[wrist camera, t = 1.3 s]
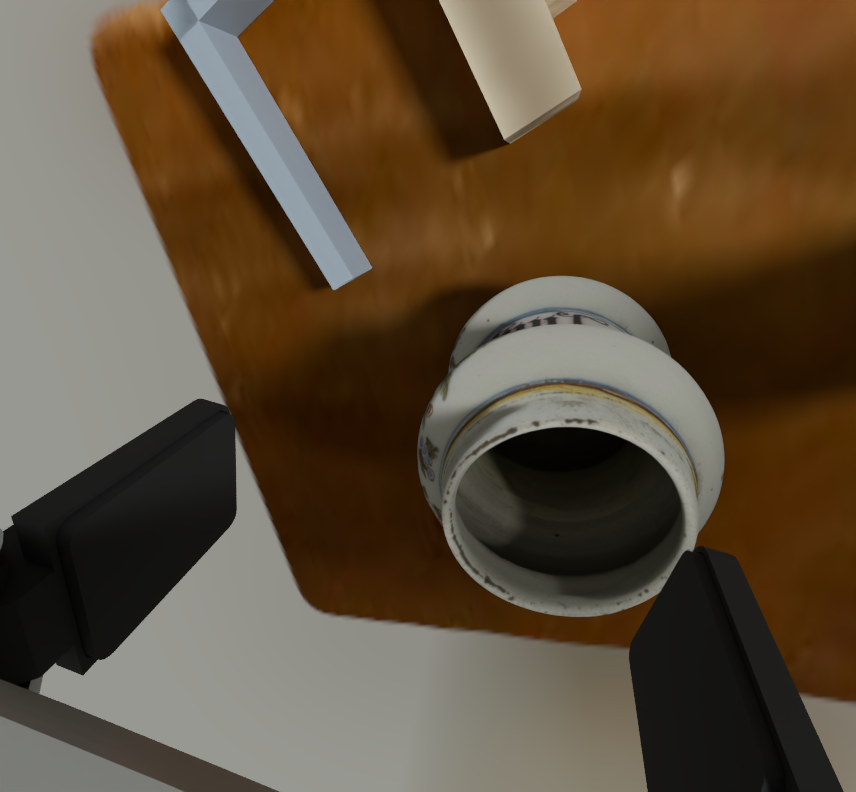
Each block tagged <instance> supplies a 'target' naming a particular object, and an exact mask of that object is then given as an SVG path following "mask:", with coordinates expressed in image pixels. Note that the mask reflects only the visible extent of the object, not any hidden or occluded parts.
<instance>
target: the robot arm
mask: <svg viewBox="0 0 856 792" xmlns="http://www.w3.org/2000/svg"><path fill="white" fill-rule="evenodd" d="M235 451H236V449H235V418H234V416H233V415H231V414H230V413H229V409H228V407H226V406H225V405H221V404H218V403H215V402H211V401H208V400H204V399H197V400H195V401H193V402H192V403H190V404H189V405H187V406H185V407H184V408H182V409H181V410H179V411H177V412H176V413H174V414H173V415H171V416H169V417H168V418H166V419H165V420H163V421H162V422H160V423H158V424H157V425H155V426H154V427H152V428H150V429H149V430H147V431H146V432H144V433H143V434H141V435H139V436H138V437H136V438H135V439H133V440H131V441H130V442H128V443H127V444H125V445H123V446H122V447H120V448H119V449H117V450H116V451H114V452H112V453H111V454H109V455H108V456H106V457H104V458H103V459H101V460H100V461H98V462H96V463H95V464H93V465H92V466H90V467H89V468H87V469H85V470H84V471H82V472H81V473H79V474H77V475H76V476H74V477H73V478H71V479H70V480H68V481H66V482H65V483H63V484H62V485H60V486H59V487H57V488H55V489H54V490H52V491H51V492H49V493H47V494H46V495H44V496H43V497H41V498H39V499H38V500H36V501H35V502H33V503H31V504H30V505H28V506H27V507H25V508H24V509H22V510H20V511H19V512H17V513H16V514H14V515H13V516H12V520H13V523H14V525H12V526H11V527H9V528H8V529H6V530H5V531H2V530H1V529H0V792H279V791H276V790H274V789H271V788H269V787H267V786H264V785H262V784H259V783H257V782H255V781H252V780H250V779H247V778H245V777H243V776H240V775H238V774H235V773H233V772H230V771H228V770H226V769H223V768H221V767H218V766H216V765H213V764H211V763H209V762H206V761H204V760H201V759H199V758H196V757H194V756H191V755H189V754H186V753H184V752H182V751H179V750H177V749H174V748H172V747H169V746H167V745H164V744H162V743H160V742H157V741H155V740H152V739H150V738H147V737H145V736H142V735H140V734H137V733H135V732H132V731H130V730H128V729H125V728H123V727H120V726H118V725H115V724H113V723H111V722H108V721H106V720H103V719H101V718H98V717H96V716H93V715H91V714H88V713H86V712H84V711H81V710H78V709H76V708H74V707H71V706H69V705H66V704H64V703H61V702H59V701H56V700H53V699H51V698H48V697H46V696H43V695H40V694H39V693H40V688H41V683H42V678H43V674H44V673H45V672H46V671H47V670H48V669H49V668H50V667H52V666H53V665H54V664H55V663H56V664H57V665H58V666H61V667H63V668H66V669H68V670H71V671H73V672H76V673H78V674H81V675H84V674H85V673H86V672H87V671H88V670H89V668H90V667H91V666H92V665H93V664H94V663H95V662H96V661H97V660H98V659H99V660H102V659H105V658H107V657H108V656H110V655H111V654H112V653H113V652H114V651H115V650H116V649H117V648H118V647H119V646H120V644H122V642H123V641H124V640H125V639H126V638H127V637H128V636H129V635H130V634H131V633H132V632H133V631H134V630H135V628H136V627H137V626H138V625H139V624H140V623H141V622H142V621H143V620H144V618H145V617H147V615H148V614H149V613H150V612H151V611H152V610H153V609H154V608H155V607H156V606H157V605H158V604H159V603H160V601H161V600H162V599H163V598H164V597H165V596H166V595H167V594H168V593H169V592H170V591H171V590H172V588H173V587H174V586H175V585H176V584H177V583H178V582H179V581H180V580H181V579H182V578H183V576H185V574H186V573H187V572H188V571H189V570H190V569H191V568H192V567H193V566H194V565H195V564H196V563H197V562H198V560H199V559H200V558H201V557H202V556H203V555H204V554H205V553H206V552H207V551H208V549H210V547H211V546H212V545H213V544H214V543H215V542H216V541H217V540H218V539H219V538H220V537H221V535H223V533H224V532H225V531H226V530H227V529H228V528H229V527H230V525H231V524H232V522H233V520H234V518H235V516H236V510H237V508H236V507H237V506H236V453H235ZM629 662H630V669H631V676H632V683H633V690H634V697H635V704H636V711H637V718H638V725H639V732H640V739H641V747H642V753H643V761H644V768H645V774H646V782H647V789H648V792H843V790H842V787H841V785H840V783H839V781H838V779H837V776H836V774H835V772H834V770H833V768H832V765H831V763H830V761H829V759H828V757H827V755H826V752H825V750H824V748H823V746H822V743H821V741H820V739H819V737H818V735H817V733H816V730H815V728H814V726H813V724H812V722H811V719H810V717H809V715H808V713H807V711H806V709H805V706H804V704H803V702H802V700H801V697H800V695H799V693H798V691H797V689H796V686H795V684H794V682H793V680H792V678H791V676H790V673H789V671H788V669H787V667H786V665H785V662H784V660H783V658H782V656H781V654H780V651H779V649H778V647H777V645H776V643H775V640H774V638H773V636H772V634H771V632H770V630H769V627H768V625H767V623H766V621H765V619H764V616H763V614H762V612H761V610H760V608H759V605H758V603H757V601H756V599H755V597H754V594H753V592H752V590H751V588H750V586H749V584H748V581H747V579H746V577H745V575H744V573H743V570H742V568H741V566H740V564H739V562H738V560H737V559H736V557H734V556H733V555H730V554H727V553H723V552H720V551H717V550H713V549H710V548H707V547H703V546H698V547H697V548H695V549H694V551H693V552H692V551H689V550H686V551H685V552H683V554H682V555H681V557H680V559H679V560H678V562H677V564H676V566H675V567H674V569H673V571H672V572H671V574H670V576H669V578H668V579H667V581H666V583H665V585H664V586H663V588H662V590H661V591H660V593H659V595H658V597H657V598H656V600H655V602H654V604H653V605H652V607H651V609H650V610H649V612H648V614H647V616H646V617H645V619H644V621H643V623H642V624H641V626H640V628H639V630H638V631H637V633H636V635H635V636H634V638H633V640H632V642H631V646H630V651H629Z"/></svg>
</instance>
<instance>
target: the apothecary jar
mask: <svg viewBox="0 0 856 792" xmlns="http://www.w3.org/2000/svg"><path fill="white" fill-rule="evenodd" d="M417 461H418V470H419V476H420V480H421V485H422V488H423V491H424V494H425V497H426V499H427V502H428V504H429V506H430V508H431V510H432V511H433V513H434V515H435V516H436V518H437V519H438V521H439V522H440V524H441V525H442V526H443V529H444V533H445V536H446V539H447V542H448V544H449V547H450V549H451V551H452V553H453V554H454V556H455V558H456V559H457V561H458V562H459V563H460V565H461V566H462V567H463V569H464V570H465V571H466V572H467V573H468V574H469V575H470V576H471V577H472V578H473V579H474V580H475V581H476V582H477V583H479V584H480V585H481V586H483V587H484V588H485V589H487V590H488V591H490V592H491V593H493V594H494V595H496V596H498V597H500V598H502V599H504V600H506V601H508V602H510V603H513V604H515V605H518V606H521V607H524V608H527V609H530V610H533V611H537V612H541V613H546V614H552V615H559V616H571V617H588V616H600V615H606V614H611V613H615V612H618V611H621V610H624V609H628V608H630V607H633V606H635V605H638V604H640V603H642V602H644V601H646V600H648V599H650V598H652V597H653V596H655V595H656V594H658V593H659V592H660V591H661V590H662V588H663V586H664V585H665V583H666V581H667V579H668V578H669V576H670V574H671V572H672V571H673V569H674V567H675V566H676V564H677V562H678V560H679V559H680V557H681V555H682V554H683V552H685V551H686V550H689V551H692V552H693V549H694V546H695V543H696V539H697V534H698V533H699V532H700V530H701V529H702V527H703V526H704V525H705V523H706V521H707V520H708V518H709V516H710V515H711V513H712V511H713V509H714V507H715V505H716V502H717V500H718V497H719V493H720V490H721V486H722V481H723V474H724V445H723V439H722V434H721V430H720V426H719V423H718V420H717V418H716V415H715V413H714V411H713V409H712V407H711V405H710V403H709V401H708V399H707V397H706V396H705V394H704V393H703V391H702V390H701V388H700V387H699V386H698V384H697V383H696V382H695V380H694V379H693V378H692V377H691V376H690V375H689V374H688V372H687V371H686V370H685V369H684V368H682V367H681V366H680V365H679V364H678V363H677V362H676V361H675V360H673V359H672V358H671V355H670V351H669V348H668V345H667V342H666V340H665V338H664V336H663V334H662V332H661V330H660V329H659V327H658V325H657V324H656V323H655V321H654V320H653V319H652V317H651V316H650V315H649V314H648V313H647V312H646V311H645V310H644V309H643V308H642V307H641V306H640V305H639V304H638V303H636V302H635V301H634V300H633V299H631V298H630V297H629V296H627V295H626V294H624V293H622V292H621V291H619V290H617V289H615V288H613V287H611V286H609V285H606V284H604V283H601V282H598V281H595V280H591V279H586V278H581V277H573V276H551V277H543V278H537V279H532V280H529V281H525V282H522V283H519V284H517V285H514V286H512V287H510V288H508V289H506V290H504V291H502V292H500V293H499V294H497V295H496V296H494V297H493V298H491V299H490V300H489V301H487V302H486V303H485V304H484V305H483V306H481V307H480V308H479V309H478V310H477V311H476V312H475V313H474V314H473V315H472V317H471V318H470V319H469V320H468V321H467V323H466V324H465V326H464V327H463V329H462V331H461V332H460V334H459V336H458V338H457V340H456V342H455V345H454V347H453V351H452V354H451V359H450V363H449V370H448V374H447V376H446V377H445V378H444V379H443V381H442V382H441V383H440V385H439V386H438V388H437V389H436V391H435V392H434V394H433V396H432V398H431V399H430V401H429V403H428V406H427V408H426V410H425V413H424V416H423V419H422V422H421V426H420V430H419V436H418V448H417Z"/></svg>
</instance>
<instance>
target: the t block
mask: <svg viewBox="0 0 856 792" xmlns="http://www.w3.org/2000/svg"><path fill="white" fill-rule="evenodd" d="M439 1H440V4H441V6H442V8H443V10H444V12H445V14H446V16H447V18H448V21H449V23H450V25H451V27H452V29H453V31H454V33H455V36H456V38H457V40H458V42H459V44H460V46H461V48H462V51H463V53H464V55H465V57H466V59H467V61H468V63H469V66H470V68H471V70H472V72H473V74H474V76H475V78H476V80H477V83H478V85H479V87H480V89H481V91H482V93H483V95H484V98H485V100H486V102H487V104H488V106H489V108H490V110H491V113H492V115H493V117H494V119H495V121H496V123H497V125H498V127H499V130H500V132H501V134H502V136H503V138H504V140H505V141H507V142H508V143H510V144H511V143H512V142H514V141H515V140H517V139H519V138H520V137H522V136H523V135H525V134H526V133H528V132H529V131H531V130H532V129H534V128H536V127H537V126H539V125H540V124H542V123H543V122H545V121H546V120H548V119H550V118H551V117H553V116H554V115H556V114H557V113H559V112H560V111H562V110H563V109H565V108H567V107H568V106H570V105H571V104H573V103H574V102H576V101H577V100H578V98H579V95H580V92H581V90H582V89H581V87H580V84H579V82H578V79H577V77H576V74H575V72H574V70H573V67H572V65H571V62H570V60H569V57H568V55H567V53H566V50H565V48H564V45H563V43H562V40H561V38H560V36H559V33H558V31H557V28H556V26H555V23H554V21H553V18H554V17H556V16H557V15H558V14H560V13H561V12H563V11H564V10H565V9H567V8H568V7H569V6H571V5H572V4H573V3H575V2H576V1H578V0H439Z"/></svg>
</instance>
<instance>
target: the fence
mask: <svg viewBox="0 0 856 792" xmlns="http://www.w3.org/2000/svg"><path fill="white" fill-rule="evenodd" d="M273 1H274V0H169V1H168V2H167V3H166V4H165V5H164V7H163V8H162V9H161V12H162V14H163V15H164V17H165V18H166V20H167V22H168V23H169V25H170V27H171V28H172V30H173V31H174V33H175V35H176V36H177V38H178V39H179V41H180V43H181V44H182V46H183V48H184V49H185V51H186V52H187V54H188V56H189V57H190V59H191V61H192V62H193V64H194V65H195V67H196V69H197V70H198V72H199V73H200V75H201V77H202V78H203V80H204V82H205V83H206V85H207V86H208V88H209V90H210V91H211V93H212V95H213V96H214V98H215V99H216V101H217V103H218V104H219V106H220V107H221V109H222V111H223V112H224V114H225V116H226V117H227V119H228V120H229V122H230V124H231V125H232V127H233V128H234V130H235V132H236V133H237V135H238V137H239V138H240V140H241V141H242V143H243V145H244V146H245V148H246V150H247V151H248V153H249V154H250V156H251V158H252V159H253V161H254V162H255V164H256V166H257V167H258V169H259V171H260V172H261V174H262V175H263V177H264V179H265V180H266V182H267V184H268V185H269V187H270V188H271V190H272V192H273V193H274V195H275V196H276V198H277V200H278V201H279V203H280V205H281V206H282V208H283V209H284V211H285V213H286V214H287V216H288V218H289V219H290V221H291V222H292V224H293V226H294V227H295V229H296V230H297V232H298V234H299V235H300V237H301V239H302V240H303V242H304V243H305V245H306V247H307V248H308V250H309V251H310V253H311V255H312V256H313V258H314V260H315V261H316V263H317V264H318V266H319V268H320V269H321V271H322V273H323V274H324V276H325V277H326V279H327V281H328V282H329V284H330V285H331V287H332V289H333V290H336V289H337V288H339V287H341V286H343V285H345V284H346V283H348V282H350V281H352V280H354V279H355V278H357V277H359V276H360V275H362V274H364V273H365V272H367V271H369V270H370V269H372V266H371V265H370V263H369V261H368V260H367V258H366V256H365V254H364V253H363V251H362V249H361V248H360V246H359V244H358V243H357V241H356V239H355V237H354V236H353V234H352V232H351V231H350V229H349V227H348V225H347V224H346V222H345V220H344V219H343V217H342V215H341V213H340V212H339V210H338V208H337V207H336V205H335V203H334V202H333V200H332V198H331V196H330V195H329V193H328V191H327V190H326V188H325V186H324V184H323V183H322V181H321V179H320V178H319V176H318V174H317V173H316V171H315V169H314V167H313V166H312V164H311V162H310V161H309V159H308V157H307V155H306V154H305V152H304V150H303V149H302V147H301V145H300V143H299V142H298V140H297V138H296V137H295V135H294V133H293V132H292V130H291V128H290V126H289V125H288V123H287V121H286V120H285V118H284V116H283V114H282V113H281V111H280V109H279V108H278V106H277V104H276V102H275V101H274V99H273V97H272V96H271V94H270V92H269V91H268V89H267V87H266V85H265V84H264V82H263V80H262V79H261V77H260V75H259V73H258V72H257V70H256V68H255V67H254V65H253V63H252V62H251V60H250V58H249V56H248V55H247V53H246V51H245V50H244V48H243V46H242V44H241V43H240V41H239V39H238V38H237V37H238V36H239V35H240V34H241V33H242V32H243V31H244V30H245V29H246V28H247V27H248V26H249V25H250V24H251V23H252V22H253V21H254V20H255V19H256V18H257V17H258V16H259V15H260V14H261V13H262V12H263V11H264V10H265V9H266V8H267V7H268V6H269V5H270V4H271V3H272V2H273Z"/></svg>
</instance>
